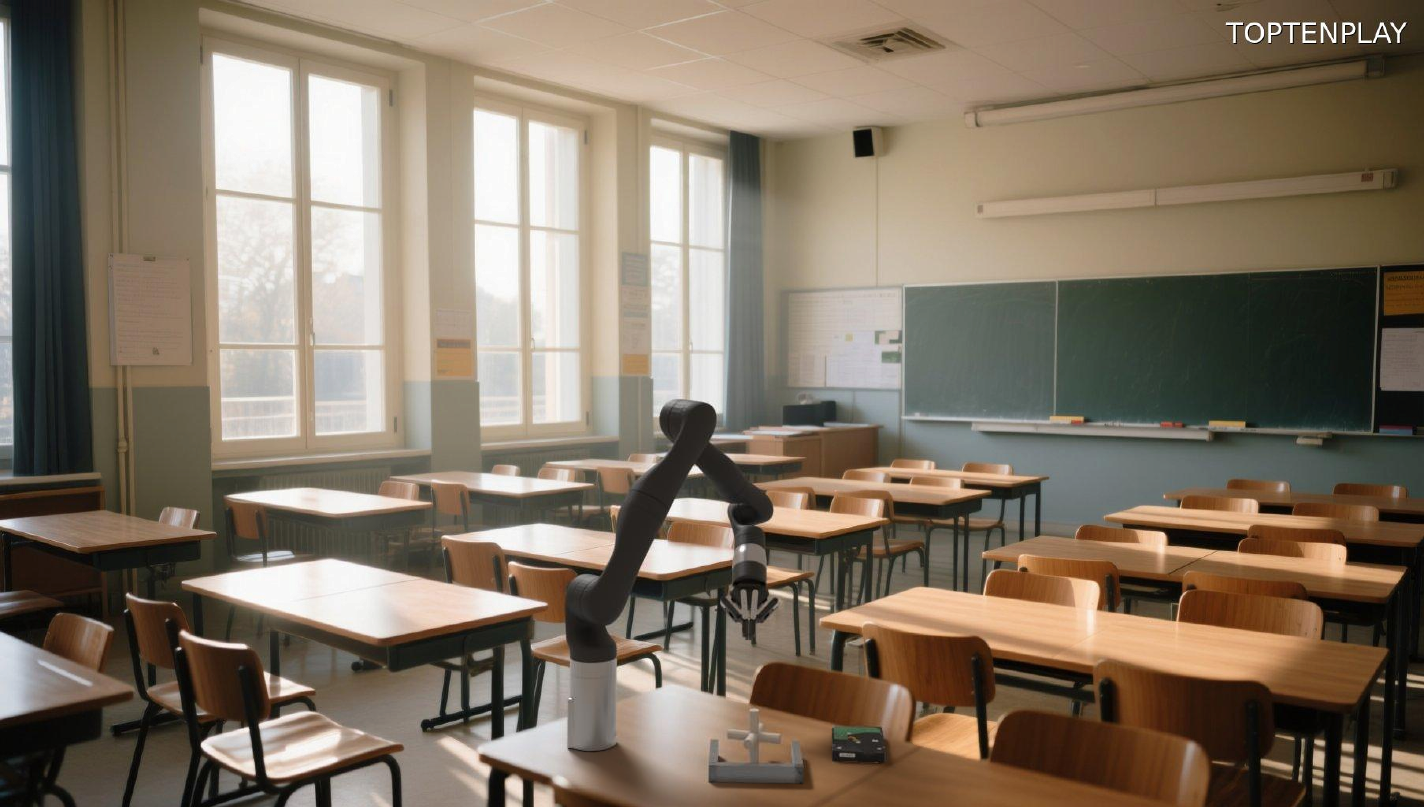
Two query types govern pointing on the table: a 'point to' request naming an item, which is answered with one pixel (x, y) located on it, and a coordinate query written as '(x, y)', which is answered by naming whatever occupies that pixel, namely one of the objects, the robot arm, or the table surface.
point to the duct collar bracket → (756, 769)
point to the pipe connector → (754, 736)
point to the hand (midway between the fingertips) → (748, 638)
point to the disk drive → (858, 744)
